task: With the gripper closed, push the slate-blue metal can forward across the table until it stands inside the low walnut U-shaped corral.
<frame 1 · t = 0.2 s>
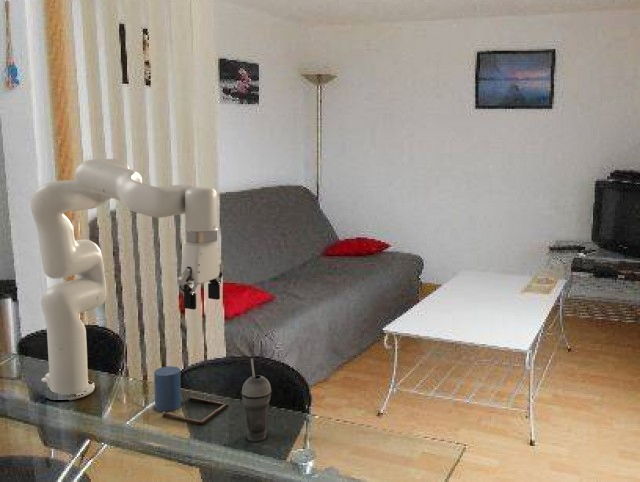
hand: (202, 303, 153), 31 cm above the table, tool pointing down, fingers open, 9 cm apart
beverage cup: (256, 437, 149), on the table
can: (168, 406, 164), on the table
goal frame: (196, 411, 161), on the table
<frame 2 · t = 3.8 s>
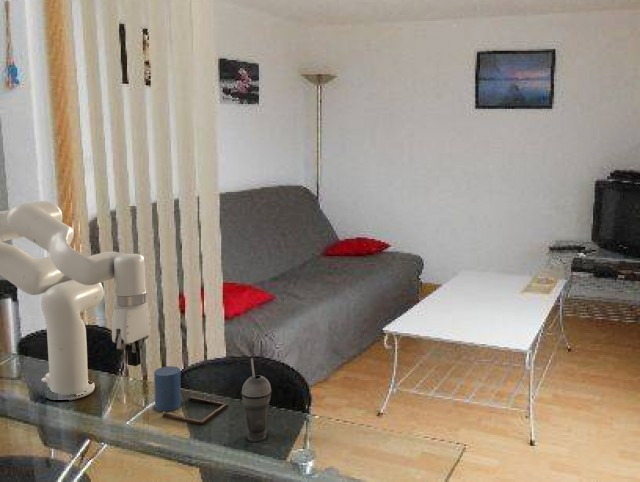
hand: (134, 364, 166), 10 cm above the table, tool pointing down, fingers closed
nothing on the table moved.
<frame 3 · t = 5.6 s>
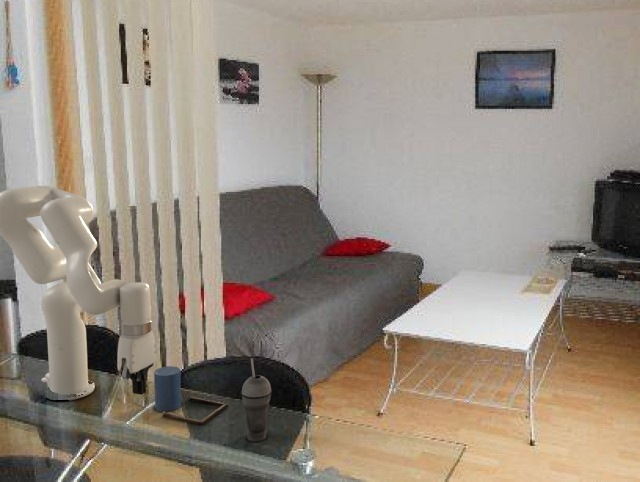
hand: (139, 392, 167), 2 cm above the table, tool pointing down, fingers closed
nothing on the table moved.
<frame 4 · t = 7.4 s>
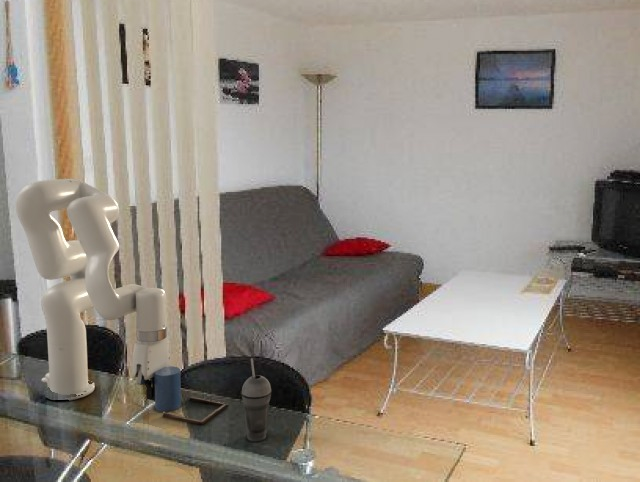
hand: (153, 398, 165), 1 cm above the table, tool pointing down, fingers closed
can: (168, 406, 164), on the table, touching gripper
everything else where it was.
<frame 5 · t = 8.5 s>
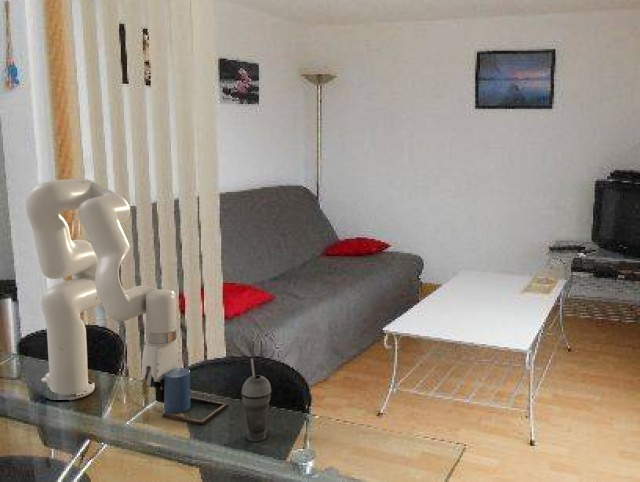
hand: (162, 400, 164), 1 cm above the table, tool pointing down, fingers closed
can: (177, 407, 163), on the table, touching gripper
everything else where it was.
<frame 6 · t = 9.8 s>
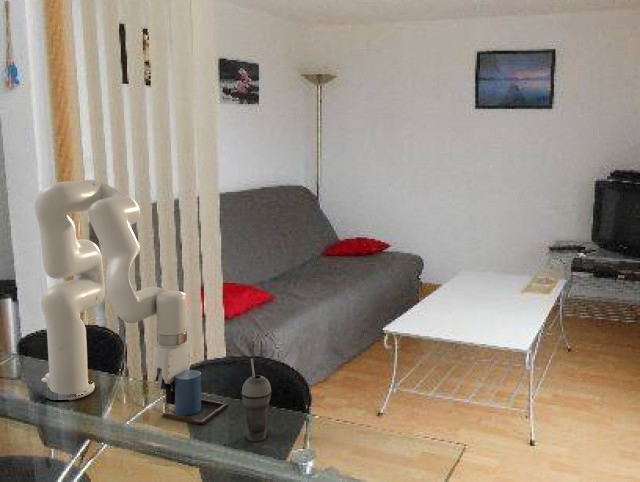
hand: (172, 402, 163), 1 cm above the table, tool pointing down, fingers closed
can: (188, 410, 162), on the table, touching gripper
everything else where it was.
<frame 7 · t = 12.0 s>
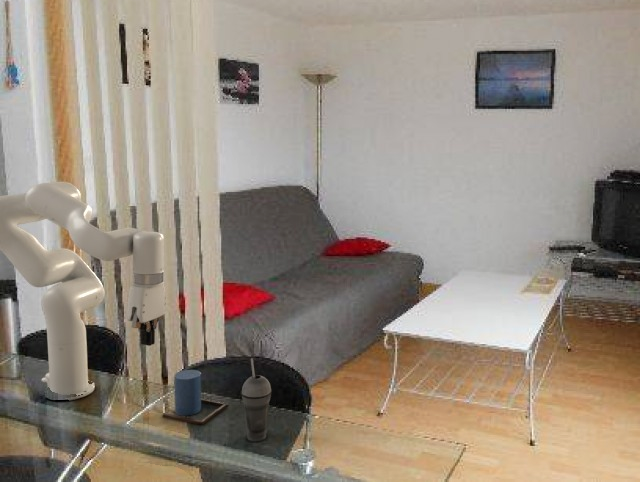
hand: (147, 344, 164), 17 cm above the table, tool pointing down, fingers closed
can: (188, 410, 162), on the table
everything else where it was.
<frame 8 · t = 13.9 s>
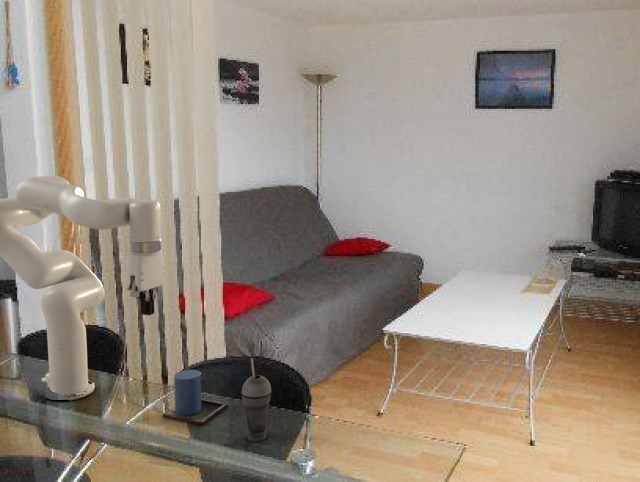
hand: (147, 313, 162), 25 cm above the table, tool pointing down, fingers closed
nothing on the table moved.
at the end: can inside the target area (3.0 cm from its centre), on the table; can tilted 0° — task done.
